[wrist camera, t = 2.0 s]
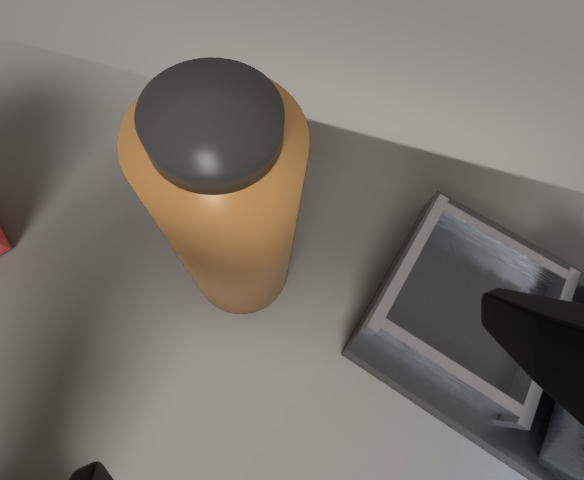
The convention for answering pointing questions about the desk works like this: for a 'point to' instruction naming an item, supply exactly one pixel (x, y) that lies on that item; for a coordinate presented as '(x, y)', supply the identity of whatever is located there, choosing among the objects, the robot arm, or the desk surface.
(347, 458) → the desk surface
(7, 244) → the ink cartridge box
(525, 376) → the motor mount
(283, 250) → the bottle
